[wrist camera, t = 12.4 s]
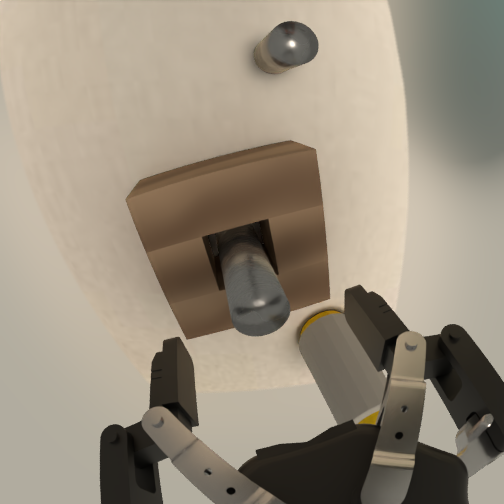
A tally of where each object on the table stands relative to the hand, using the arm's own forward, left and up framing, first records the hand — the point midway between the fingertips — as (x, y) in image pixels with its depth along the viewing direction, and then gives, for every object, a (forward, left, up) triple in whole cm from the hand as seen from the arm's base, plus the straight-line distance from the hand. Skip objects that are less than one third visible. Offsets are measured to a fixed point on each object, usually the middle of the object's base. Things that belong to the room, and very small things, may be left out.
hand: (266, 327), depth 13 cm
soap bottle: (+15, +7, -12) cm, 21 cm away
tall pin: (0, 0, -12) cm, 12 cm away
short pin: (-13, +6, -12) cm, 19 cm away
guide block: (0, 0, -12) cm, 12 cm away
